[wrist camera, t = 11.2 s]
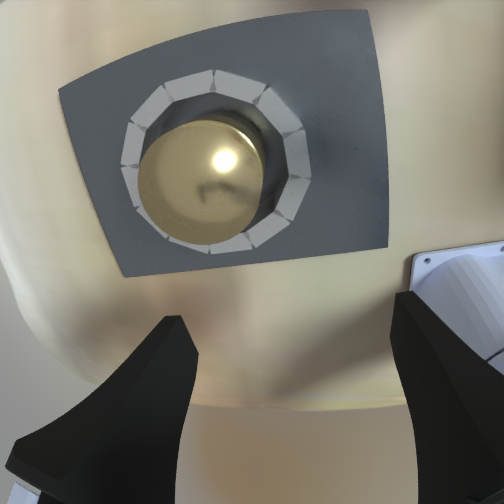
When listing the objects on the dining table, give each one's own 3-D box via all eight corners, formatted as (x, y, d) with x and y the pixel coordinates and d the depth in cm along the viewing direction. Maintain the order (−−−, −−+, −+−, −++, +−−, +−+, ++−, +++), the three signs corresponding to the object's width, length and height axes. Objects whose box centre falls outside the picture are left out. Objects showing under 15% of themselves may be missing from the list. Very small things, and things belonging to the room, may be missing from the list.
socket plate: (364, 11, 11) (382, -1, 9) (385, 242, 18) (399, 270, 16) (63, 88, 14) (32, 95, 12) (128, 272, 21) (110, 299, 19)
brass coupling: (258, 104, 14) (248, 114, 10) (273, 194, 17) (269, 238, 13) (166, 122, 15) (123, 142, 11) (187, 205, 18) (157, 250, 13)
